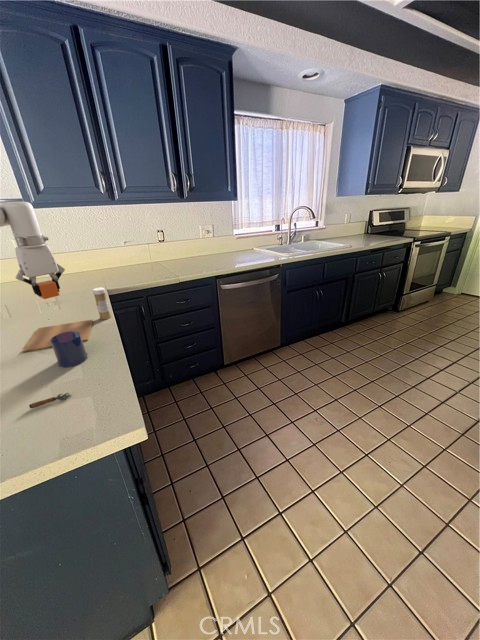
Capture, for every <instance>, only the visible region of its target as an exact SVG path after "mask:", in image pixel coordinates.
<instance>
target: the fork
mask: <svg viewBox="0 0 480 640" xmlns="http://www.w3.org/2000/svg"><path fill="white" fill-rule="evenodd" d="M71 396H72V394H70V393H69V392H66V393H64V394H62V393H59V394H58V395H56V396H52V397H50V398H47V399H42V400H39V401H36V402H32V403H30V404H29V406H28V407H29V409H34V408H38V407H41V406H43V405H46V404H49V403H52V402H55V401H57V400H58V401H64V400H66V399H68V398H70V397H71Z"/></svg>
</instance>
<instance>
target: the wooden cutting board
mask: <svg viewBox="0 0 480 640" xmlns="http://www.w3.org/2000/svg"><path fill="white" fill-rule="evenodd" d="M93 323H94V319H87V320H80V321H74V322H68V323H62V324H56V325H49V326H43V327H42V326H41V327H38V328H37V329H36V331H35V332H34V334H33V336H31V338H30V339H29V341H28V342H27V344H26V346H25V347H24V349H22V353H28V352H33V351H39V350H45V349H50V348H51V349H52V348H53V347H52V344H51V342H50V340H51V338H53V337H54V336H56V335H58V334H61V333H64V332H70V331H77V332H79V333H80V335H81V338H82V341H83V342H88V341H89V339H90V335H91V330H92V326H93Z"/></svg>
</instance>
